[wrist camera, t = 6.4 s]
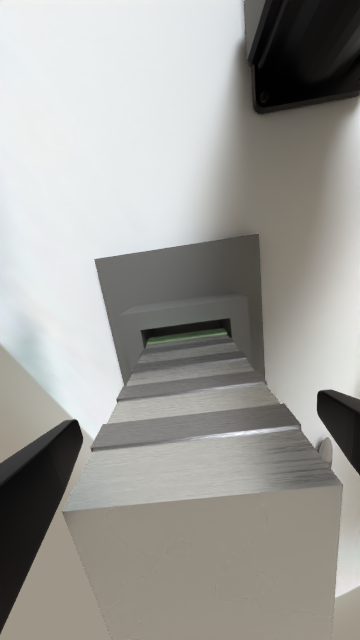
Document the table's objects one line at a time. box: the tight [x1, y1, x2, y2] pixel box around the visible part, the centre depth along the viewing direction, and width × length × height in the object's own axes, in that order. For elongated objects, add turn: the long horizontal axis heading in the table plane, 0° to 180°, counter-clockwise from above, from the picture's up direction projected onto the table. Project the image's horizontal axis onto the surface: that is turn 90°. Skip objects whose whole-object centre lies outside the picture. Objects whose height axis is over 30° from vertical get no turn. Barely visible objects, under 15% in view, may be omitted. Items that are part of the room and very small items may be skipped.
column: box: [62, 328, 343, 640], centre depth 7 cm, size 4×4×8 cm
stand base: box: [94, 234, 265, 386], centre depth 12 cm, size 11×14×5 cm
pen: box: [319, 437, 332, 469], centre depth 18 cm, size 1×14×1 cm, turn 3°
